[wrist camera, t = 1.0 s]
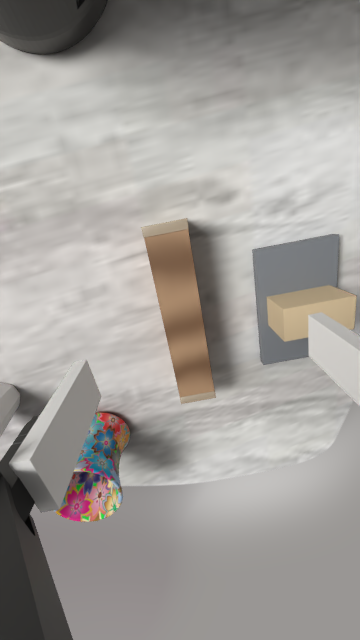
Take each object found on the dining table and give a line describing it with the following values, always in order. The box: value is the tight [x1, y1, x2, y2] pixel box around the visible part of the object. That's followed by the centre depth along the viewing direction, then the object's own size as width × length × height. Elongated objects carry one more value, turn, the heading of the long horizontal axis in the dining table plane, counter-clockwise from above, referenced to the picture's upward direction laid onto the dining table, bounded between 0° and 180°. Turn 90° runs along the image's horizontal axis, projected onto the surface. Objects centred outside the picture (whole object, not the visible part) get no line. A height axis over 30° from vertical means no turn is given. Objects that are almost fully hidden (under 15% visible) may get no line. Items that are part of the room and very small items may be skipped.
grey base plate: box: [252, 234, 357, 365], centre depth 31 cm, size 16×10×6 cm, turn 10°
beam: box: [141, 218, 216, 404], centre depth 31 cm, size 22×5×5 cm, turn 10°
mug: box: [53, 413, 130, 522], centre depth 35 cm, size 12×9×11 cm
